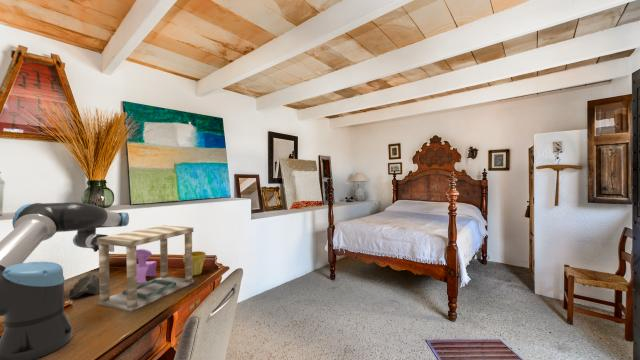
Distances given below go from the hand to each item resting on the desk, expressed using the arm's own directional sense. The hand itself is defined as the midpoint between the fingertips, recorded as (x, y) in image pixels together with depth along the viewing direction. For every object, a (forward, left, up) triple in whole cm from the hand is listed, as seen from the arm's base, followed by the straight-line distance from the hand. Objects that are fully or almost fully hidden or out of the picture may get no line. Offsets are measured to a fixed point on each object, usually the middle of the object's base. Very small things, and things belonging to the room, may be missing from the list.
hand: (128, 245), depth 134 cm
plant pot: (+14, -28, -15) cm, 35 cm away
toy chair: (0, -12, -15) cm, 19 cm away
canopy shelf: (-10, -28, -15) cm, 33 cm away
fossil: (-21, -4, -15) cm, 26 cm away
